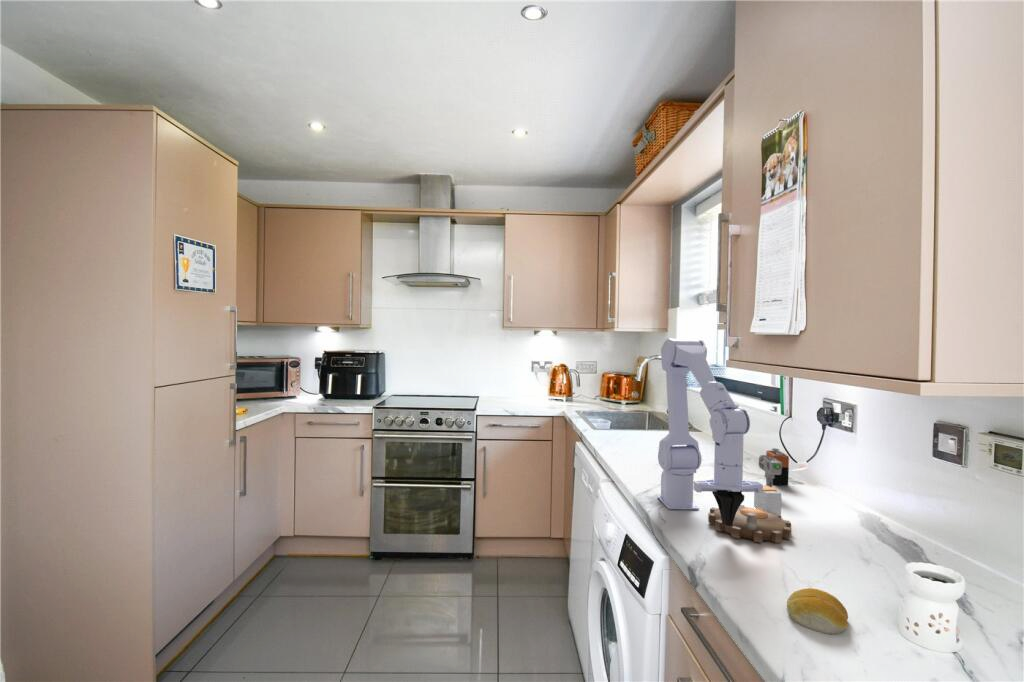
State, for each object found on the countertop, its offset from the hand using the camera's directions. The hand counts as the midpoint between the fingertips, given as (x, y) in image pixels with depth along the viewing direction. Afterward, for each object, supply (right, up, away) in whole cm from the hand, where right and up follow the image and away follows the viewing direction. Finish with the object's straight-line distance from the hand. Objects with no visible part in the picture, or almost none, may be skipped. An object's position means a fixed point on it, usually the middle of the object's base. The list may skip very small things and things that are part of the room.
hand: (727, 524), depth 105 cm
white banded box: (+18, -4, +17) cm, 24 cm away
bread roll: (+1, -4, -29) cm, 29 cm away
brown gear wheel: (+8, -3, +6) cm, 11 cm away
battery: (+34, -4, +42) cm, 54 cm away
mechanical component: (+27, -4, +32) cm, 41 cm away
